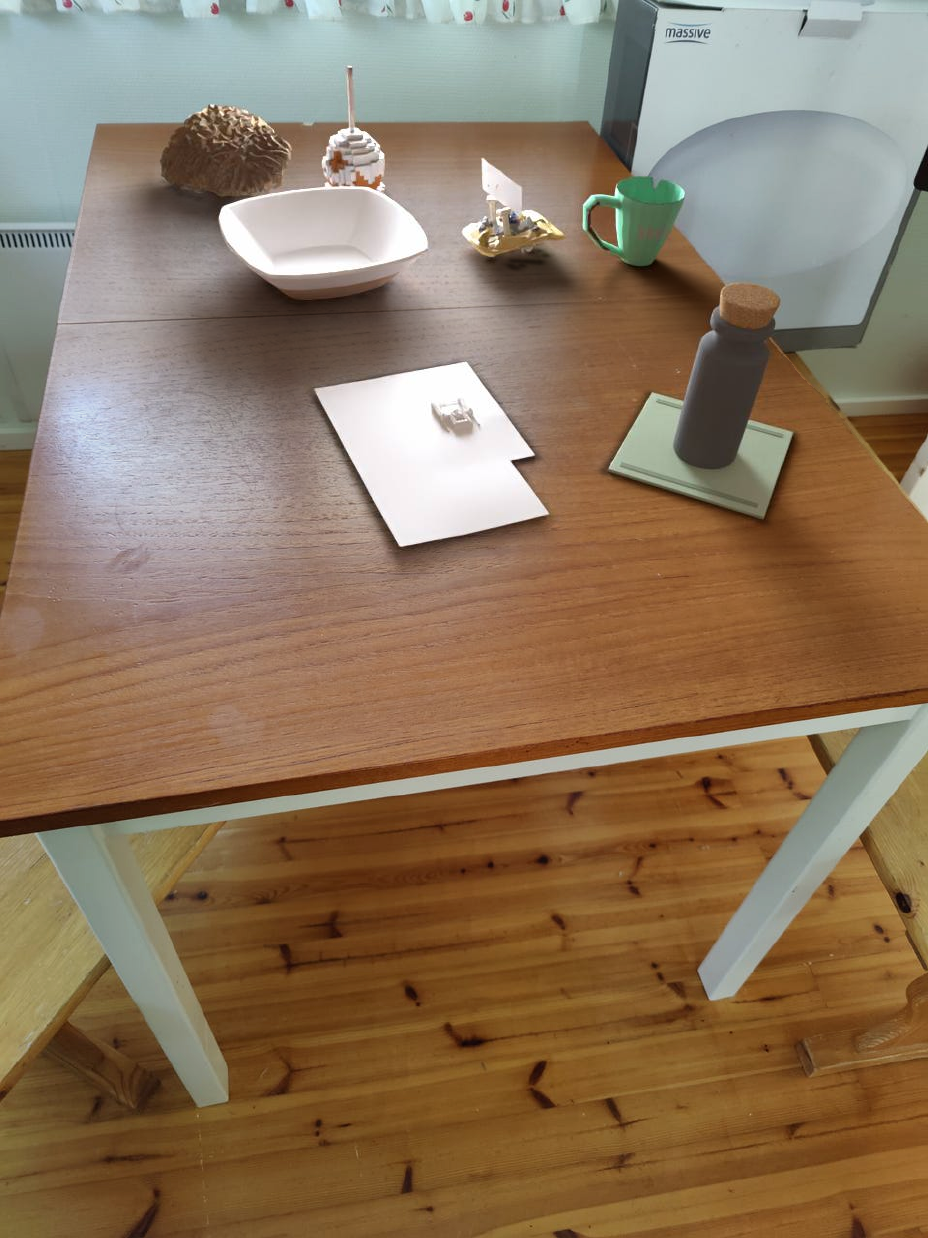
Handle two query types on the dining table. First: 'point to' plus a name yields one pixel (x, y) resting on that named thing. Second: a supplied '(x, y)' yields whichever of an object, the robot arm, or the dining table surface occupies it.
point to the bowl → (323, 239)
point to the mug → (638, 217)
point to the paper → (433, 452)
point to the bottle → (726, 376)
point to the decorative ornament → (353, 154)
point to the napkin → (727, 487)
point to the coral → (225, 153)
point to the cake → (507, 219)
